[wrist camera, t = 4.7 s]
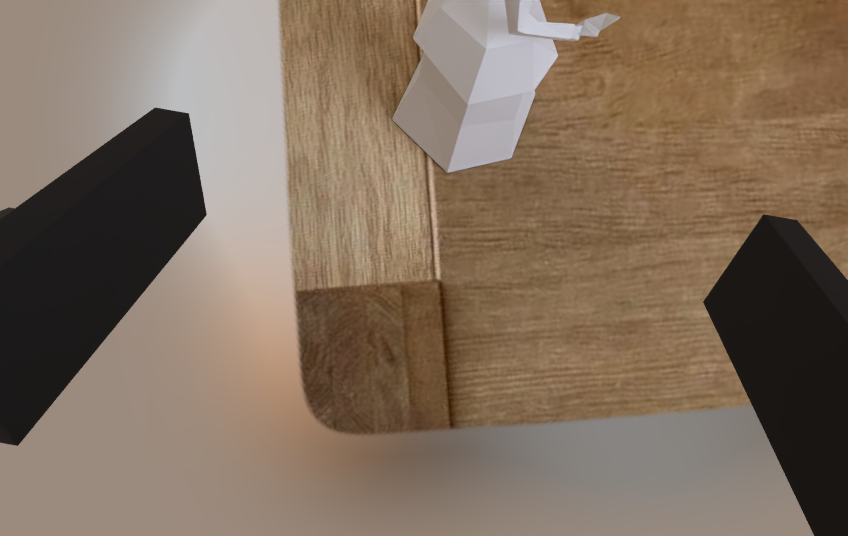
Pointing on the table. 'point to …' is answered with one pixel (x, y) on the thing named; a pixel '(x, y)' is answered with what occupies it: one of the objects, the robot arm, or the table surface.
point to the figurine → (480, 76)
